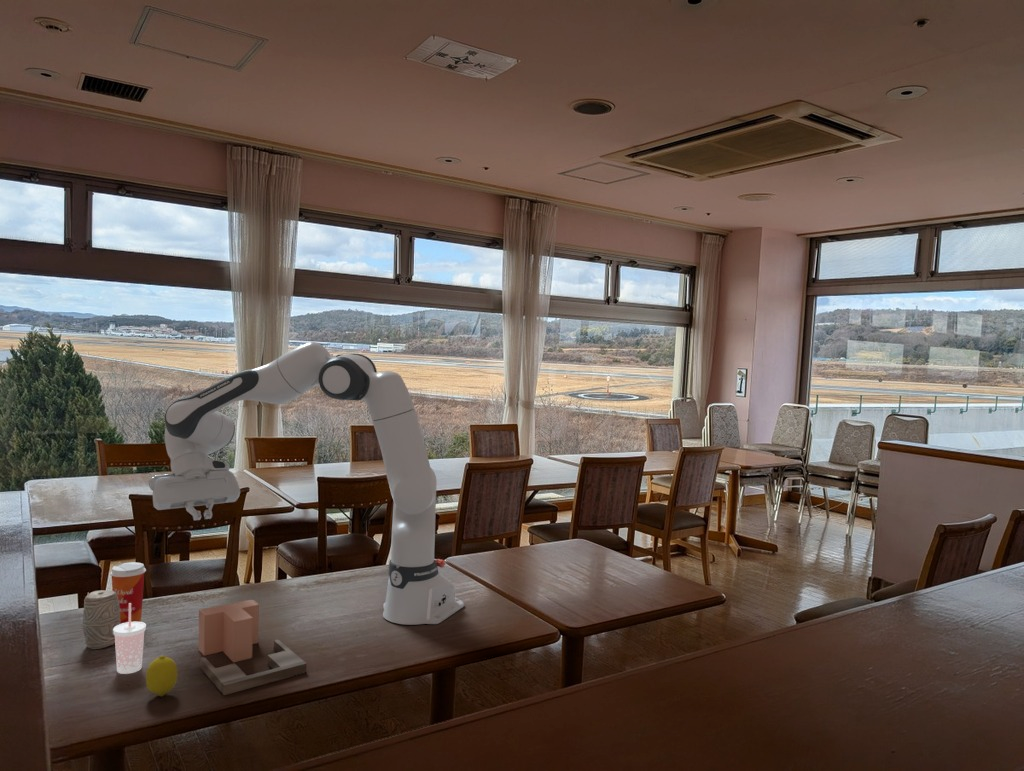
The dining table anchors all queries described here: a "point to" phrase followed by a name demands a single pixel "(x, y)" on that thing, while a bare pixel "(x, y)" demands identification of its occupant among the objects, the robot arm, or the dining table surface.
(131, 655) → the beverage cup
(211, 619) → the t block
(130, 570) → the paper cup
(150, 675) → the lemon
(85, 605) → the carving
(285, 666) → the t dock
